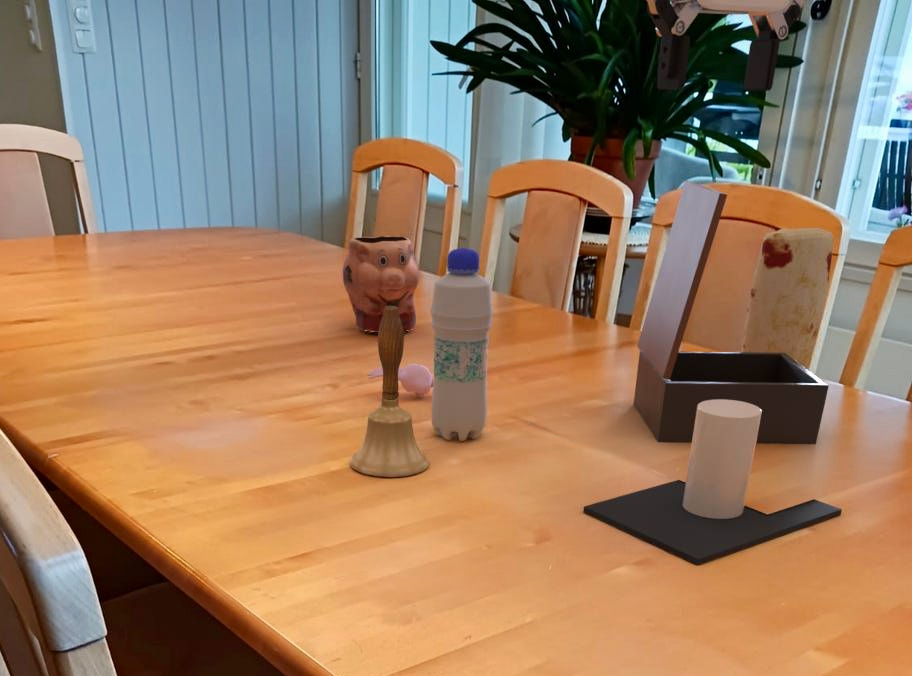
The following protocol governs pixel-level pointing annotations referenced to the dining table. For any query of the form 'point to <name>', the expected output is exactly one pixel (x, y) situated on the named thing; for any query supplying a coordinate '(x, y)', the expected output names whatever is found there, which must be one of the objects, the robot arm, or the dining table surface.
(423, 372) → the rabbit figure
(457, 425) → the bottle
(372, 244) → the decorative planter
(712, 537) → the mat
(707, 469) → the tall white cylinder
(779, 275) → the food model
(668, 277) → the open box lid
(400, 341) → the hand bell
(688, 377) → the hinged jewelry box
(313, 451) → the dining table surface
